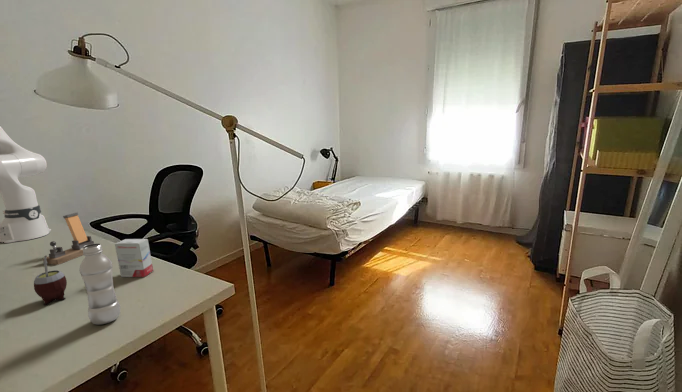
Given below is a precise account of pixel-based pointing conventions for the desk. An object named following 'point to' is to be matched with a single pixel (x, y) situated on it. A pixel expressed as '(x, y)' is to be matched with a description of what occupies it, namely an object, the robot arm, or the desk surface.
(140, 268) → the ink box
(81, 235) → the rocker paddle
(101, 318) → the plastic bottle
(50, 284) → the mate gourd
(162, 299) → the desk surface
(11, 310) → the desk surface
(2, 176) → the robot arm
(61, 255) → the switch panel
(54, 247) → the toggle lever
